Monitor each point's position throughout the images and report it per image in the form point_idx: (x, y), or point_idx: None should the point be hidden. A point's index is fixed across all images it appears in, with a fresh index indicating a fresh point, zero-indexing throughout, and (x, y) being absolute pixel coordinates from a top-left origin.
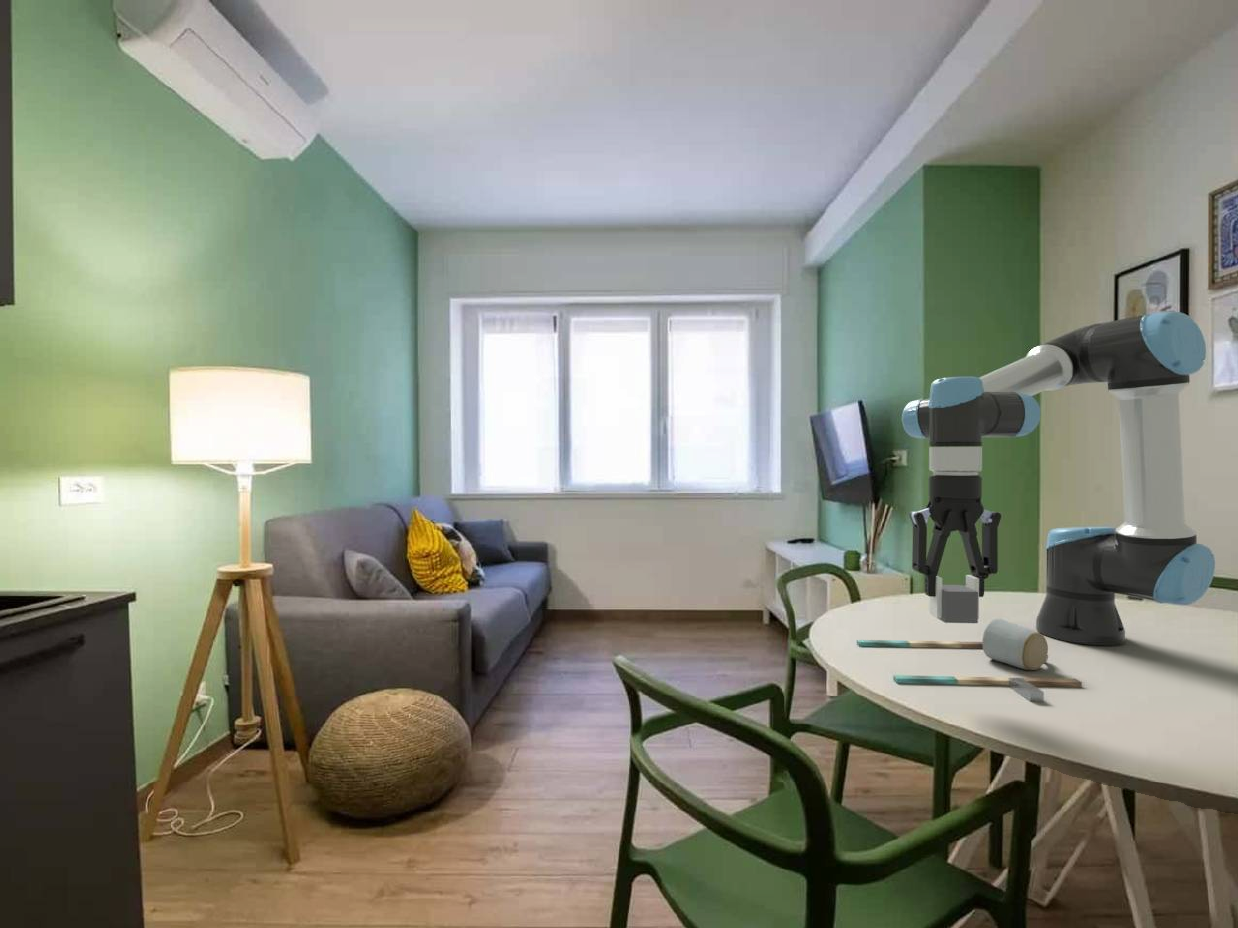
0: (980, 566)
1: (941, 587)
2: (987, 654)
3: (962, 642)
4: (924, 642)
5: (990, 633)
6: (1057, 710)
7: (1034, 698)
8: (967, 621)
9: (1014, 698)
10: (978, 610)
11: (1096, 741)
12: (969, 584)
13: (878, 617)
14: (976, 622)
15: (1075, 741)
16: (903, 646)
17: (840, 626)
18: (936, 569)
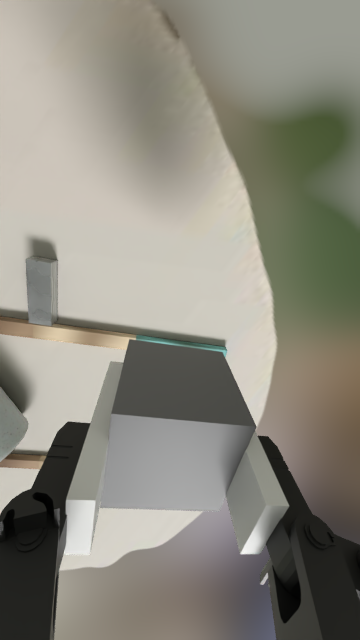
0: (14, 613)
1: (252, 458)
2: (25, 418)
3: (33, 465)
4: None
5: (2, 445)
6: (31, 218)
7: (48, 259)
8: (159, 345)
9: (77, 275)
10: (106, 377)
11: (43, 71)
12: (102, 485)
13: (97, 545)
14: (132, 340)
15: (85, 80)
16: None
17: (169, 519)
18: (318, 569)
